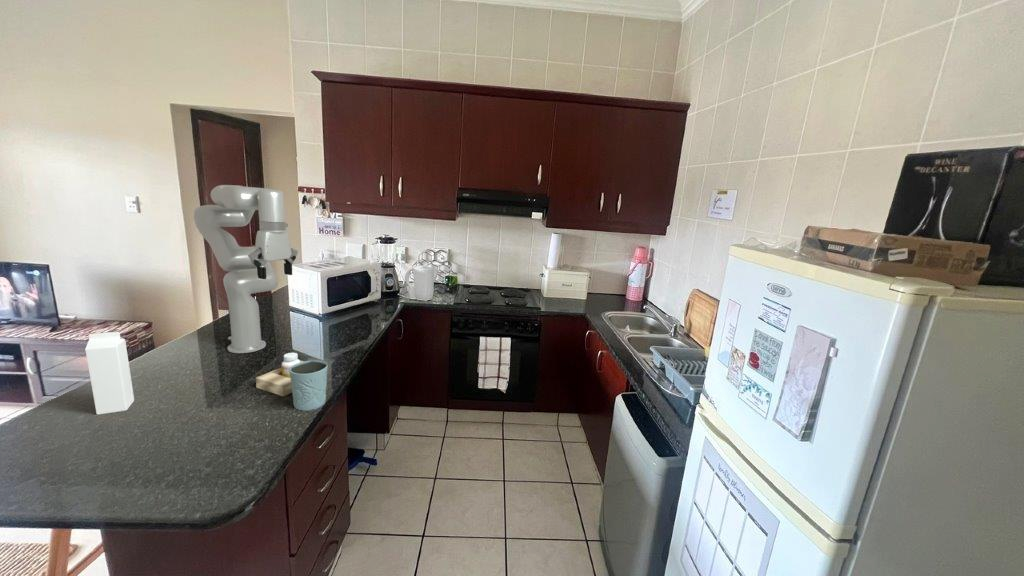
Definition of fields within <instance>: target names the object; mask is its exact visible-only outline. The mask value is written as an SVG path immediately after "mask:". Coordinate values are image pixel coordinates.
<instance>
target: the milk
mask: <svg viewBox="0 0 1024 576" xmlns="http://www.w3.org/2000/svg"><path fill="white" fill-rule="evenodd" d="M84 350H85V356H86V361H87V362H86V363H87V367H88V372H89V373H88V374H89V380H90V385H91V390H92V396H93V403H94V406H95V413H96V415H103V414H111V413H117V412H124V411H125V412H126V411H127V410H128V409H129V408H130V406H131V405H132V404H133V403H134V401H135V394H134V389H133V388H134V387H133V382H132V376H131V375H132V374H131V369H130V363H129V357H128V351H127V343H126V339H125V338H124V337H121V334H120V332H119V331H113V332H100V333H89V334H88V341H87V344H86V347H85V349H84Z"/></svg>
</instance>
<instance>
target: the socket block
mask: <svg viewBox="0 0 1024 576" xmlns="http://www.w3.org/2000/svg"><path fill="white" fill-rule="evenodd" d="M304 361H305V360H304ZM304 361H303V360H300V362H304ZM255 383H256V384H255V387H256V389H260V390H262V391H265V392H269V393H272V394H274V395H278V396H280V397H286V396H287V395H289V394H293V393H292V386H291V378H288V377H284V376H282V366H281V367H279V368H276V369H274V370H271V371H269V372H267V373H264V374H261V375H259V376H257V377H255Z"/></svg>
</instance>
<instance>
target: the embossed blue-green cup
mask: <svg viewBox="0 0 1024 576" xmlns="http://www.w3.org/2000/svg"><path fill="white" fill-rule="evenodd" d="M328 366H329V365H328V363H327V362H325V361H323V360H317V359H315V360H304V362H300V363H297V364H295V365H293V366H291V367H290V369H289V373H290V378H291V386H292V393H291V394H292V399H293V401H292V402H293V407H294V408H295V409H296V410H297V409H298V410H297V411H301V410H302V412H305V411H306V412H307V411H313V409H314V410H316V409H319V408H321V407H323V406H322V405H325V404H326V401H327V400H326V398H327V394H326V393H327V385H328V384H327V380H328V379H327V377H328Z"/></svg>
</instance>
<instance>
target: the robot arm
mask: <svg viewBox="0 0 1024 576" xmlns="http://www.w3.org/2000/svg"><path fill="white" fill-rule="evenodd" d="M210 198H211V201H212V202H213V203H214V204H205V205H200V206H198V207H196V208H195V209H194V211H193V221H194V223H195V226H196V229H197V230H198V232H199V234H201V236H202V238H204V239H205V241H206V242H207V243H208V244H209V246H210V248H211V250H212V252H213V255H214V258H216V261H217V263H218V265H219V267H220V268H221V269H222V270H223V271H224V272H227V273H225V275H224V277H223V280H222V281H223V282H222V283H223V287H224V290H225V292H226V293H225V294H226V298H227V302H228V311H229V321H230V322H229V323H230V333H231V336H228V337H227V339H228V340H229V341H230V342H231V343H230V344H229V345H228V346H227V352H230V353H234V354H249V353H253V352H257V351H260V350H263V349H264V348H265V347H267V343H266V341H265V340H262V333H261V320H260V307H259V303H258V301H257V299H255V298H254V297H253V296H252V294H258V293H263V292H271V291H273V290H275V289H276V288H277V286H278V282H279V281H278V277H277V274H276V271H275V270H274V268H273V266H272V264H271V262H273V261H274V262H275V261H283V262H284V263H283V272H284V273H283V274H284V275H288V276H293V264H294V262H295V261H296V259H297V255H298V253H299V251H298V250H297V249H294V248H292V246H291V242H290V236H289V233H288V230H287V228H288V227H289V224H288V223H286V208H285V195H284V192H283V191H282V190H279V189H272V188H265V187H256V186H255V187H254V186H253V187H252V186H245V185H244V186H243V185H234V184H233V185H232V184H221V185H216V186H214V188H212V189H211V191H210ZM256 211H258V221H259V223H258V225H259V230H257V231H256V236H255V246H240V245H239V244H238V242H237V240H236V238H235V236H233V235H232V234H231V233H230V232H228V231H227V230H225V229H223V228H228V227H229V228H230V227H231V228H238V227H241V228H242V227H245V226H247V225H248V224H249V223H250V222H251V220H252V218H253V215H254V213H255V212H256ZM222 227H223V228H222Z"/></svg>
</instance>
